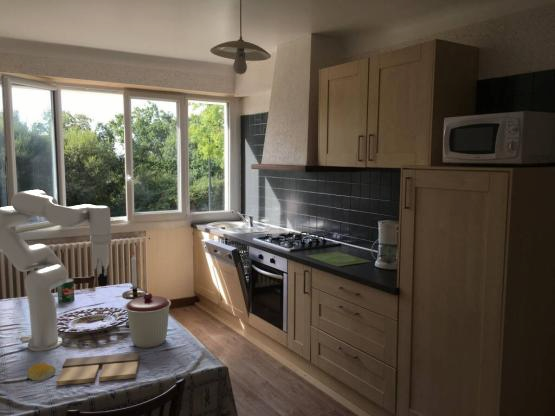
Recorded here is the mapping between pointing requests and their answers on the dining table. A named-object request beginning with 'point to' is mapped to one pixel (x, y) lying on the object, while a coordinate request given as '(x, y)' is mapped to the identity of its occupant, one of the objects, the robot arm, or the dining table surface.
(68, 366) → the walnut floor strip
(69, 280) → the canned tomato
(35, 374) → the bread roll
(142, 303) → the canister
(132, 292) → the candlestick
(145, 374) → the dining table surface
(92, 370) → the oak plank left
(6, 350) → the dining table surface
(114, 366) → the oak plank right
